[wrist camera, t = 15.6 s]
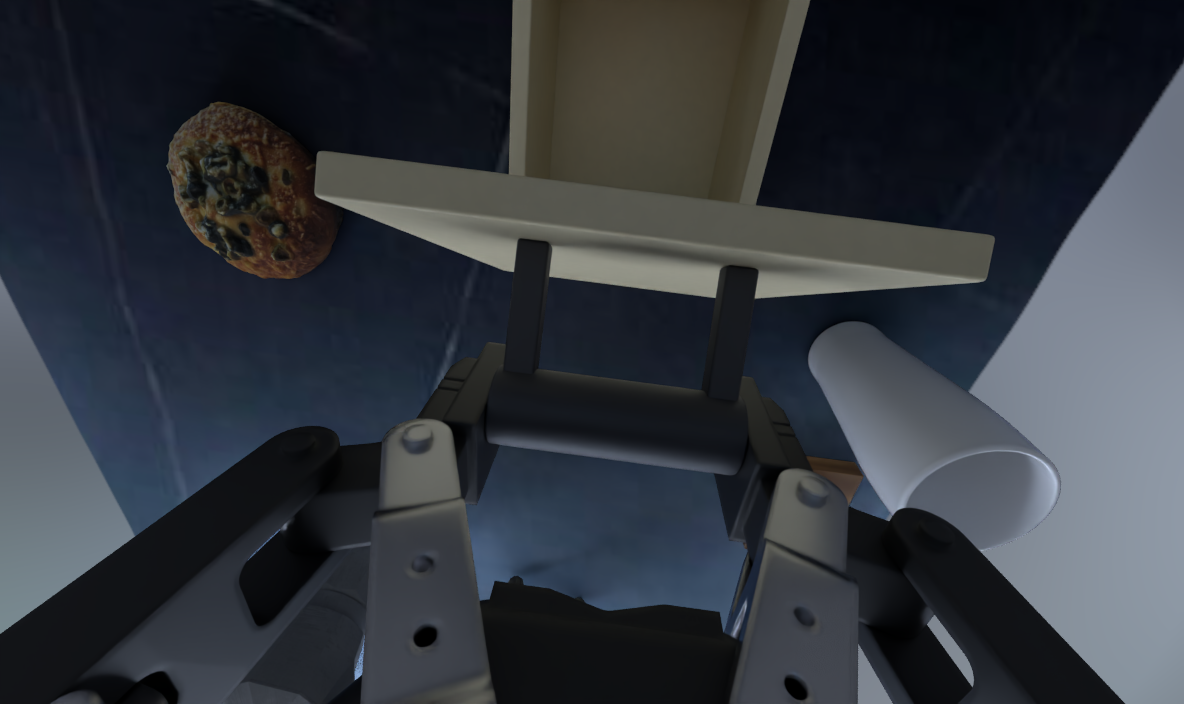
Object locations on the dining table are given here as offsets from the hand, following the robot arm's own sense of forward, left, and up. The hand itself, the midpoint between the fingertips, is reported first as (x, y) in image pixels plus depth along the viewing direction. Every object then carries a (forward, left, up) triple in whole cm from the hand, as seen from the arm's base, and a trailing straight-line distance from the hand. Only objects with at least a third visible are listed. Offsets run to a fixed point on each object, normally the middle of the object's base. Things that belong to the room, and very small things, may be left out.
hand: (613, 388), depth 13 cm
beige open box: (-4, -5, -21) cm, 22 cm away
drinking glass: (-10, +16, -21) cm, 28 cm away
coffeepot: (+40, +17, -21) cm, 48 cm away
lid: (-2, -2, -5) cm, 5 cm away
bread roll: (+21, -13, -21) cm, 32 cm away
